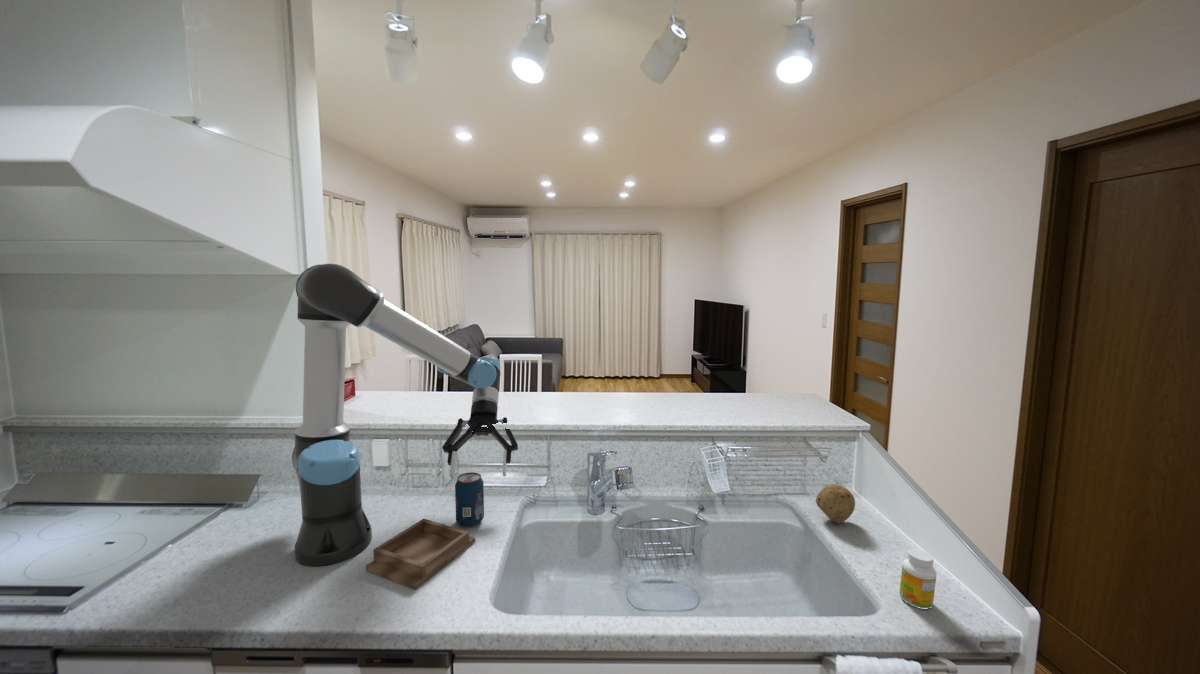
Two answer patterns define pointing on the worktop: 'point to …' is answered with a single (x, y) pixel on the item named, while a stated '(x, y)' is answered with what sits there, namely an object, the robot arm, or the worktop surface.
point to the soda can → (469, 499)
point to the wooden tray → (419, 552)
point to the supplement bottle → (918, 579)
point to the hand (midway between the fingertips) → (478, 475)
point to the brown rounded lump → (836, 502)
